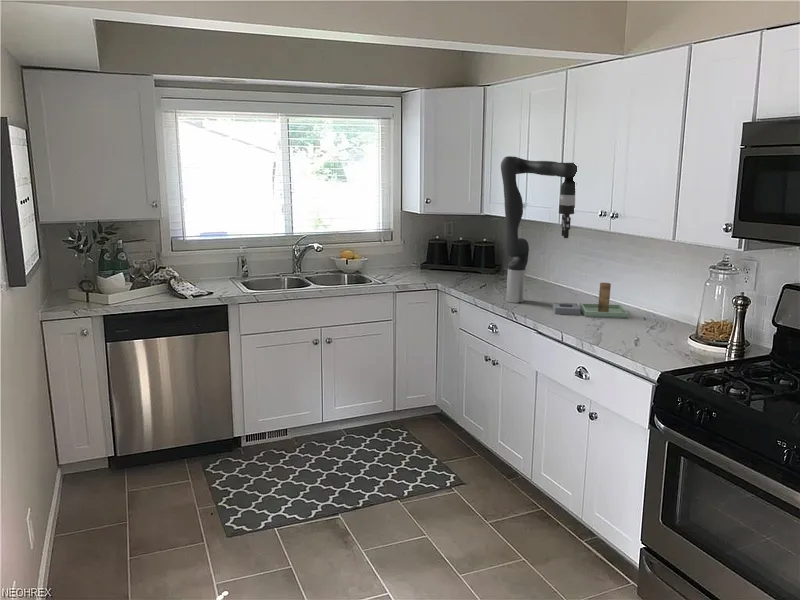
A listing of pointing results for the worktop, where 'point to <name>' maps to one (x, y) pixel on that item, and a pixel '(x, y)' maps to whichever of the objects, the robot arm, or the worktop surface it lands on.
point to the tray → (614, 312)
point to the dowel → (604, 297)
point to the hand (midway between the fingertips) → (564, 237)
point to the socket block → (566, 308)
